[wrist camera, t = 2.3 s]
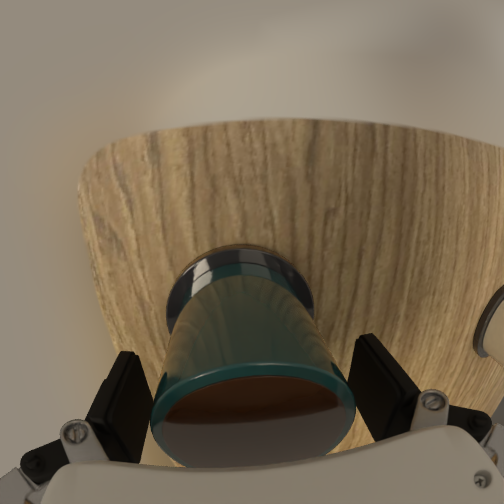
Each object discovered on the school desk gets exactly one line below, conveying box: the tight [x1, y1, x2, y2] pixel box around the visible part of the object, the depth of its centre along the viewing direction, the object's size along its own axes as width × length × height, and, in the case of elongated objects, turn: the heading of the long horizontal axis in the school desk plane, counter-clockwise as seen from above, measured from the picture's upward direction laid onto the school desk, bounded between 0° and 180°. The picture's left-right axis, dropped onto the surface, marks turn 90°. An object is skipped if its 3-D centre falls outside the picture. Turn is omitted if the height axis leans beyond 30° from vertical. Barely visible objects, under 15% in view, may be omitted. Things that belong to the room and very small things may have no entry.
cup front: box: [150, 263, 356, 468], centre depth 11 cm, size 9×7×8 cm
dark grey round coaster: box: [473, 285, 504, 358], centre depth 18 cm, size 8×8×1 cm
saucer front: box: [166, 245, 314, 335], centre depth 15 cm, size 8×8×1 cm
